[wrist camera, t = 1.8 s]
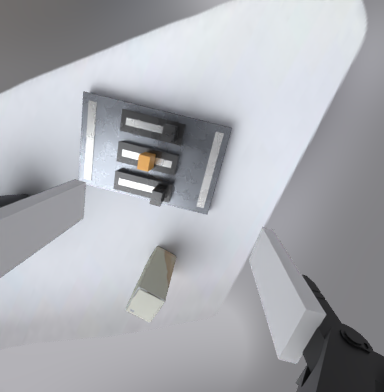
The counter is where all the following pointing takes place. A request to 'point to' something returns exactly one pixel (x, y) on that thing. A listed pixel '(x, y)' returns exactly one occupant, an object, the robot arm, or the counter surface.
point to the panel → (187, 151)
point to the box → (152, 285)
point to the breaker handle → (146, 161)
